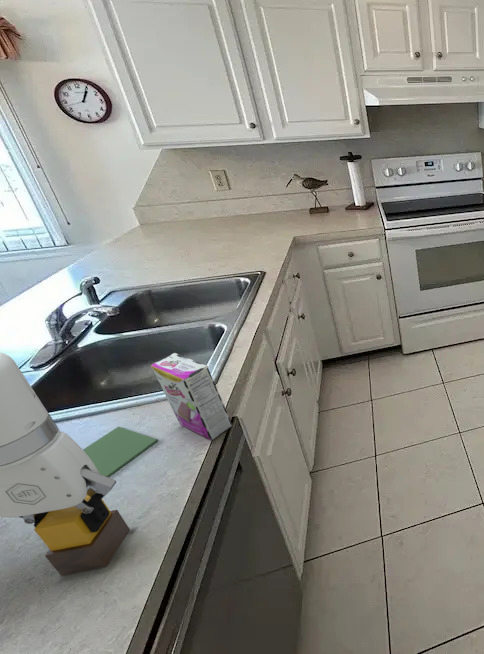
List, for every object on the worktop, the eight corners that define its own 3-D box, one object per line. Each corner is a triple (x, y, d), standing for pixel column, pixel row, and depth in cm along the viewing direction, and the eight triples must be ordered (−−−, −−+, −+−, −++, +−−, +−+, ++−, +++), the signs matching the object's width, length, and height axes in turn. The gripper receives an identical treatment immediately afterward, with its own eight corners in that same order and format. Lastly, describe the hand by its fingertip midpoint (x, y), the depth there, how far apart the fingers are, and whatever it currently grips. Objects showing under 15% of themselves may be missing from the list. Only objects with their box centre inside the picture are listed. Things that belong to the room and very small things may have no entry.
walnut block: (61, 576, 62) (44, 555, 60) (88, 537, 67) (74, 517, 65) (106, 566, 63) (91, 546, 61) (130, 529, 68) (117, 509, 66)
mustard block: (51, 551, 60) (33, 529, 58) (75, 519, 64) (59, 498, 62) (90, 543, 61) (74, 522, 59) (111, 512, 65) (97, 491, 63)
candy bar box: (178, 426, 89) (148, 365, 82) (201, 411, 93) (175, 351, 86) (211, 442, 84) (182, 379, 77) (234, 425, 88) (208, 364, 81)
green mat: (49, 473, 78) (48, 471, 78) (119, 428, 89) (118, 426, 88) (91, 490, 75) (89, 488, 75) (158, 440, 85) (157, 439, 85)
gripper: (-94, 475, 50) (-10, 566, 57) (69, 450, 53) (128, 539, 60) (-35, 429, 56) (33, 516, 64) (107, 409, 59) (156, 494, 67)
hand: (79, 526), depth 62 cm, fingers closed on mustard block, 5 cm apart
